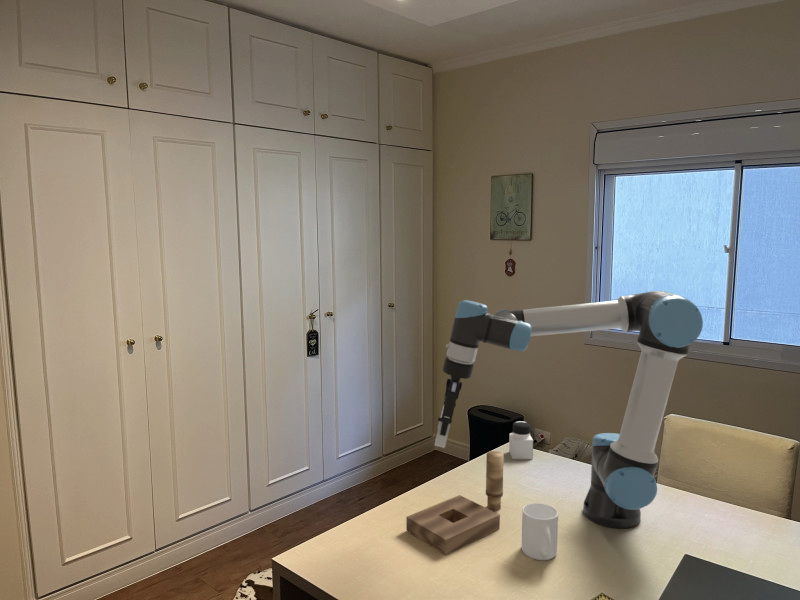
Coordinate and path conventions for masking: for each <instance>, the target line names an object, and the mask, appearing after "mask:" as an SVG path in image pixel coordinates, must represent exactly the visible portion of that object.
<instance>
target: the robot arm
mask: <svg viewBox="0 0 800 600" xmlns="http://www.w3.org/2000/svg"><path fill="white" fill-rule="evenodd" d="M703 323H704V321H703V316H702V313H701V311H700V309H699V307H698V306H697V305H696V304H695V303H694V302H692V301H691V300H689V299H688V298H686V297H685V296H681V295H678V294H674V293H672V292H667V291H663V290H653V291H646V292H641V293H635V294H629V295H627V294H626V295H621V296H619V297H618V298H617V299H616V300H607V301H598V302H597V301H596V302H588V303H587V302H586V303H577V304H567V305H557V306H547V307H535V308H529V309H528V308H525V309H517V310H516V309H515V310H509V309H500V310H498V311H496V312H495V313H494V314H491V313H488V306H487V305H486V304H484V303H481V302H477V301H473V300H468V299H463V300H461V301H459V302H458V306H457V308H456V312H455V316H454V320H453V324H452V329H451V333H450V334H451V335H450V338H449V343H446V345H445V348H448V349H447V350H446V356H447V357H446V358H444V362H443V366H442V372H444V374H445V375H448V376H450V378H446V383H445V393H444V400H443V405H442V408H441V412H440V417H438V419H437V422H438V424H437V425H438V426H437V432H436V437H435V440H434V441H435V442H434V446H435V447H438V448H443V449H445V448H446V445H447V440H448V438H449V437H448V436H449V433H450V429H451V425H452V422H453V416H454V410H455V408H456V405H457V404H456V403H457V402H456V401H457V400H458V399H459V396H460V392H461V391H462V387H463V382H462V381H460V380H461V379H468V380H469V379H470V378H471V377H472V374H473V369H474V363H475V362H476V359H477V358H476V357H477V354H478V350H479V344H480V343H483V344H488V345H493V346H496V347H501V348H504V349H509V350H511V351H517V352H525V351H526V350H527V349H528V347H529V345H530V341H531V337H535V336H536V337H537V336H538V337H540V336H548V335H558V334H571V333H581V332H592V331H593V332H594V331H605V330H615V329H619V330H621V331H622V332H638V333H639V334H638V337H637V341H636V343H637V345H638V347H639V348H640V351H641V352H640V355H639V360H638V363H637V366H636V367H637V368H636V370H635V375H634V378H633V383H632V386H631V390H630V393H629V396H628V397H629V398H628V401H627V405H626V409H625V413H624V417H623V420H622V424H621V428H620V431H619V433H613V432H603V433H597V434H595V435H594V436H593V437H592V443H591V469H590V485H589V488H588V492H587V494H586V496H585V498H584V500H583V501H584V502H583V510H582V512H583V514H584V516H585V517H586V518H587V519H589V520H590V521H592V522H594V523H596V524H598V525H601V526H603V527H608V528H613V529H614V528H615V529H628V528H633V527H636V526H638V525H639V524H640V523H641V520H642V519H641V518H642V517H641V516H642V513H641V512H642V511H641V509H642V508H645V507H647V506H648V505H650V504H651V503H653V501H654V500H655V498H656V496H657V494H658V493H657V492H658V485H657V481H656V478H655V473H656V470H657V467H658V463H659V458H658V456H657V454H656V452H655V449H656V445H657V440H658V438H659V433H660V431H661V430H660V429H661V426H662V421H663V420H664V419H663V418H664V414H665V412H666V409H667V404H668V400H669V397H670V392H671V390H672V389H671V388H672V385H673V382H674V377H675V374H676V371H677V368H678V363H679V361H680V360H682V359H683V358H684V357H686V356H688V353H689V349H690V346H691V344H692V343H694V342H695V341H696V340H697V339H698V338H699V336H700V334H701V332H702V330H703Z"/></svg>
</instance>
